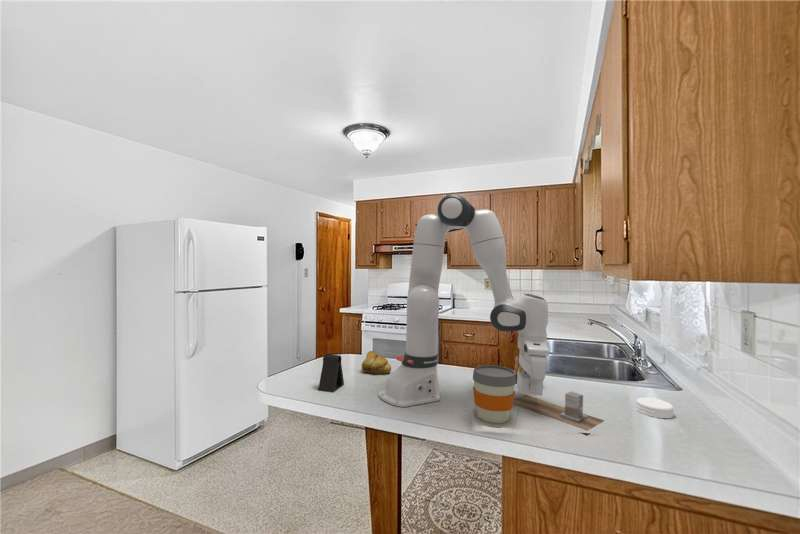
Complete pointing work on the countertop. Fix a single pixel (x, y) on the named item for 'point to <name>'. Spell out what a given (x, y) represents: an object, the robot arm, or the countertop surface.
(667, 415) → the coaster
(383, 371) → the bread roll
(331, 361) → the black tent stand
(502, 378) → the reusable coffee cup
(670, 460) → the countertop surface
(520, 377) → the white block
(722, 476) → the countertop surface
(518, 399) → the brown flat wooden board
